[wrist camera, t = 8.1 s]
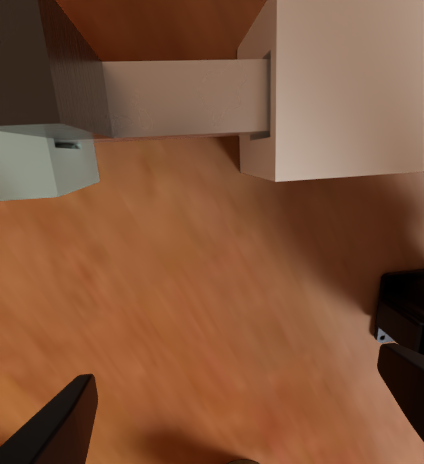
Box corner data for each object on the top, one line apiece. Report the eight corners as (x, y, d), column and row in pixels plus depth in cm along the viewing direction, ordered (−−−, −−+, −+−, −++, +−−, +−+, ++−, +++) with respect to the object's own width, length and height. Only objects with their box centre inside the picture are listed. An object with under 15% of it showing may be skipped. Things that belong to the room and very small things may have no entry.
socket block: (78, 50, 16) (13, -21, 10) (99, 181, 18) (58, 196, 12) (-23, 52, 16) (-168, -25, 9) (10, 187, 18) (-87, 206, 11)
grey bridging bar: (281, 76, 15) (418, -23, 7) (280, 133, 16) (401, 109, 8) (-12, 83, 14) (-324, -38, 5) (3, 147, 14) (-242, 135, 6)
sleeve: (355, 47, 18) (460, -14, 12) (346, 165, 20) (431, 171, 14) (237, 49, 17) (277, -17, 11) (240, 172, 20) (275, 181, 13)
